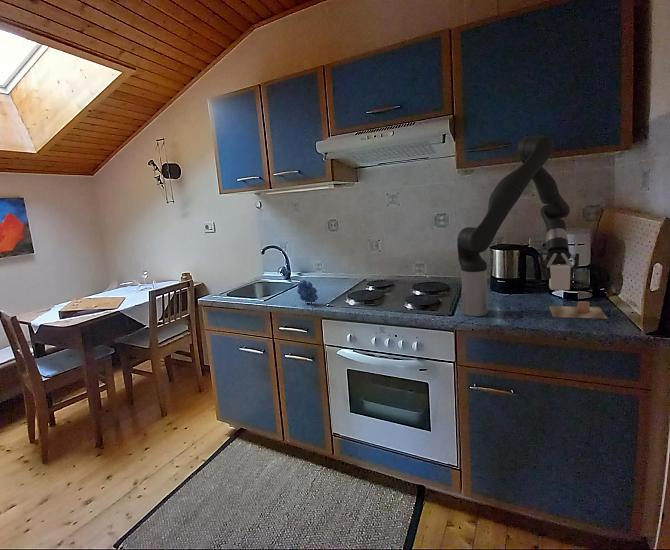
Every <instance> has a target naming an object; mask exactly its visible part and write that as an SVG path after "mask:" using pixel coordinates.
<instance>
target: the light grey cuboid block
mask: <svg viewBox="0 0 670 550" xmlns="http://www.w3.org/2000/svg"><path fill="white" fill-rule="evenodd" d="M550 270H551V279H549V278H548V280H549V281H548V282H549V283H548V287H549V289H550V290H554V291H556V290H557V291H561V290H562V291H570V290H571V288H570V287H571V279H570V266H568V265H564V264H563V265H560V264H558V265H554V264H553V265H551V266H550Z"/></svg>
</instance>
